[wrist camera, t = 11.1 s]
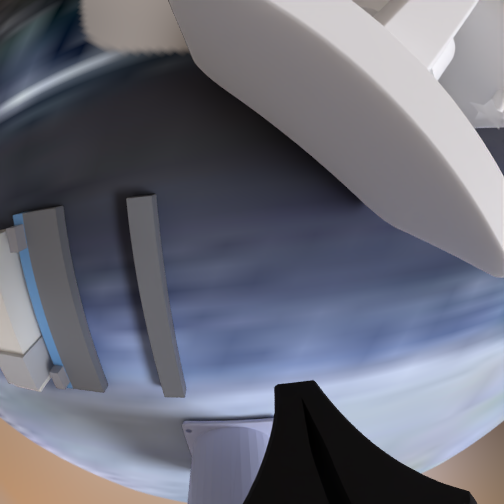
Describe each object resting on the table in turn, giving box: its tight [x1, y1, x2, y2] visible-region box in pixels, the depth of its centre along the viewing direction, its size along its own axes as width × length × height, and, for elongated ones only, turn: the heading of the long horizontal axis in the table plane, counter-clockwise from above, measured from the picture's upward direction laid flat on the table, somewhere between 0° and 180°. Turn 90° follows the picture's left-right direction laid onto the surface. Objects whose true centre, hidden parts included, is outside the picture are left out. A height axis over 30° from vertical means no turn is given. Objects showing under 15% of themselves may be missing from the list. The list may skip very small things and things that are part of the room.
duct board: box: [6, 194, 186, 398], centre depth 17 cm, size 14×18×2 cm
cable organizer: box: [168, 0, 504, 278], centre depth 10 cm, size 15×11×12 cm
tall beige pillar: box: [0, 229, 54, 392], centre depth 16 cm, size 12×4×4 cm, turn 2°
